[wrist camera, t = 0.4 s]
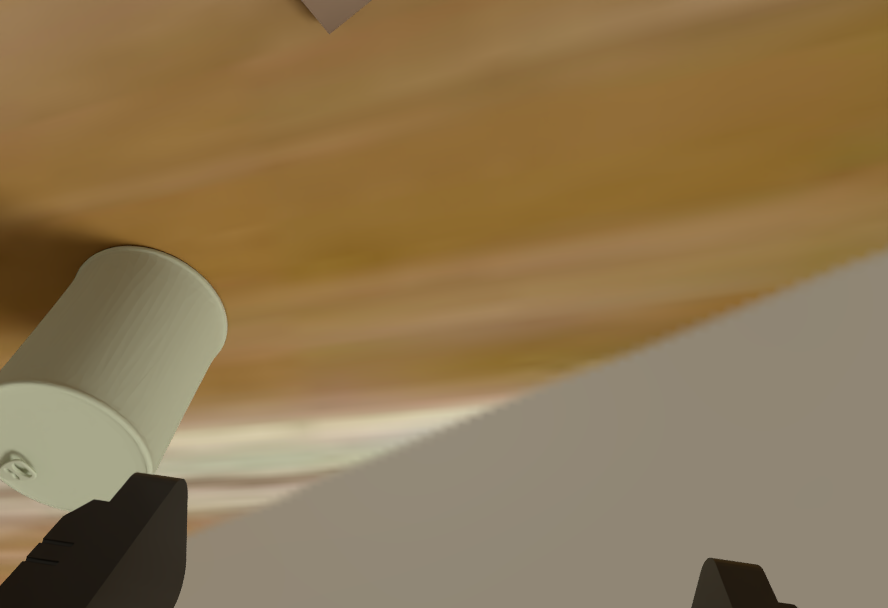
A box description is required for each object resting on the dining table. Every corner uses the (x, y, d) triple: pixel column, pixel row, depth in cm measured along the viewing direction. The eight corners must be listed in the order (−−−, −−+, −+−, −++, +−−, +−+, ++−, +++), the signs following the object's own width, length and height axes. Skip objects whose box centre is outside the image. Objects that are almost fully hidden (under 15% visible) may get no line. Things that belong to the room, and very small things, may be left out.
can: (42, 281, 49) (-82, 426, 40) (156, 220, 46) (48, 362, 36) (148, 387, 54) (58, 541, 44) (259, 338, 50) (187, 494, 40)
